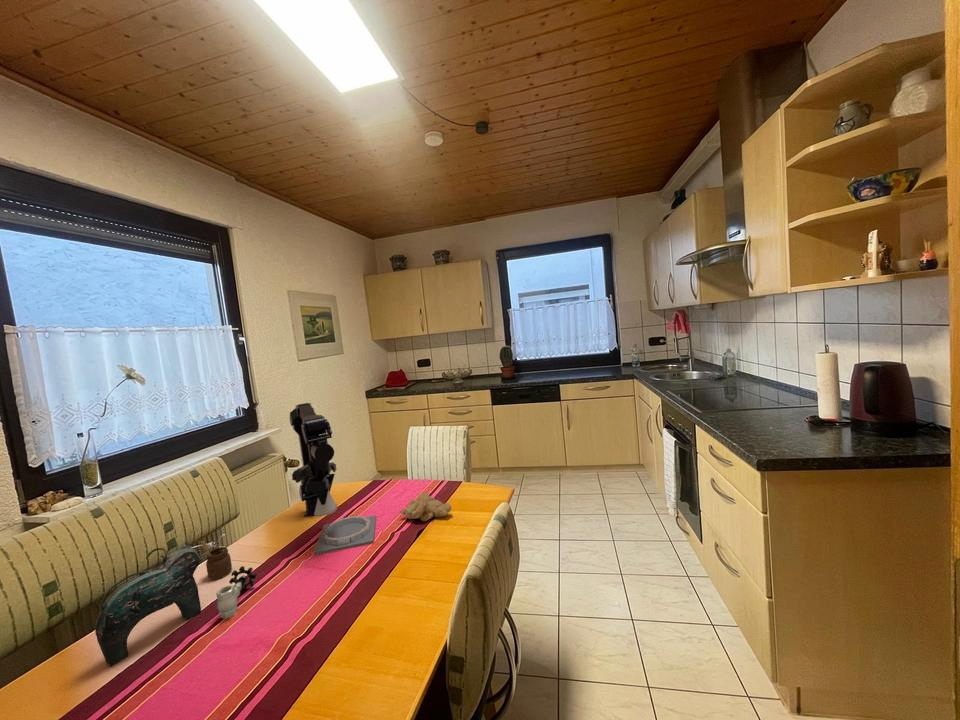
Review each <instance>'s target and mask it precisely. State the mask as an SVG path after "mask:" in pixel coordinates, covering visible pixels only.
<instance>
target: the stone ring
mask: <svg viewBox="0 0 960 720" xmlns="http://www.w3.org/2000/svg"><path fill="white" fill-rule="evenodd" d="M366 517H367V516H361V515H353V516H348V517H343V518H340V519H338V520H334V521H333V522H331V523H329V524H330V525H328V526H327V527H326V528H324V530H323V532H322V541H324V542H325V543H326V544H327V545H336V546H337V545H338V546H339V545H343V544H348V543H352V542H354V541H356V540H359V539H361V538H363V537H364V536H365V535H366V534H367V533H368V532H369V531H370V528H371V522H370V520H369V519H368V518H366ZM354 522H355V523H363V524H365V525H366V526H365V527H364V528H363V529H362V530H361V531H359V532H357V533H355V534H353V535H351V536H347V537H342V538H332V537H329V536H328V533H330V532H331V531H332V530H333V529H335V528H337V527H339V526H342V525H344V524H349V523H354Z"/></svg>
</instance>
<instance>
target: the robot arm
mask: <svg viewBox="0 0 960 720" xmlns="http://www.w3.org/2000/svg"><path fill="white" fill-rule="evenodd" d="M289 423H290V426H291V427H292V430H293V431H294V432H295V433H296V434H297V435H298V440H299V448H300V454H301V455H300V457H301V463H302V466H301V467H299V468H298V469H295V470H294V471H293V472H292V473H291V477H292V478H291V480H292V481H295V483H296V484H298V483H300V485H299V490H298V491H299V498H300V501H301V502H305V503H304V504H305V510H306V511H305V512H304V514H303V516H304V517H308V516H309V517H310V516H313V515H314V513H315V509H316V505H317V500H318V498H319V500H320V503H321V505H325V503H326V499H327V495H328V490H329V492H331V489H332V485H333V481H334V479H335V472H336V471H337V464H336V463H335V462H333V461H332V459H333V458H334V455H335V450H334V447H333V446H332V445H331V444H330V443H329V442H328V439H332V438H333V436H332V435H333V430H332V428H331V424H330V421H329V420H328V419H326V418H325V416H323V414H317V413H316V412H315V408H314V407H312V404H311V403H309V402H305V403H299V404H297V405H295V408H294V409H293V410H291V411H290V412H289ZM330 461H332V462H330ZM331 472H333V473H331ZM314 516H315V515H314Z"/></svg>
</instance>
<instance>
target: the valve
mask: <svg viewBox="0 0 960 720" xmlns="http://www.w3.org/2000/svg"><path fill="white" fill-rule="evenodd" d="M253 571H254V569H253V567H248V568H247V569H245V566H242V565H241V566H240V567H239V569H238V571H237V570H233V571H231V572H232V573H231V578H230V579H229V580H228V583H229V585H225V586H223V587H221V588H220V589H218V590H217V592H216V594H215V596H216V600H217V602H216V603H217V605H216V607H217V610H218V611H219V618H223V619H222V620H225V619H226V620H228V619H230V618H232V617H231V616H233V615H234V614H235V613H236V611H237V610H238V611H239V607H238V598H239V596H240V595H241V591H242V592H245V591H244V590H246V591H247V589H248V586H249V587H250V588H251V587H254V585H255V583H256V582H255V581H254V580H255V579H256V578H257V575H258V574H257V573H252V572H253ZM241 574H242V575H241ZM244 574H246V575H244ZM239 575H241V576H239ZM238 576H239V578H238ZM248 578H249V580H248V582H247V579H248ZM233 583H234V585H232V584H233ZM238 611H237V612H238ZM236 614H237V613H236ZM236 614H235V615H236ZM235 615H234V616H235ZM234 616H233V617H234ZM229 617H230V618H229ZM227 618H228V619H227Z"/></svg>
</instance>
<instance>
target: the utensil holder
mask: <svg viewBox="0 0 960 720" xmlns="http://www.w3.org/2000/svg"><path fill="white" fill-rule="evenodd" d="M222 537H223V539H222ZM226 537H227V535H226V534H221V535H220V536H219V537H218V539H217V542H220V540H222V541H225V539H226ZM200 542H201V544H202V546H203V549H204V550H205V551H206V552H207V553H206V564H205V565H206V573H207V578H208V580H212V581H215V580H219V579H223V578H224V577H226V576H228V575H229V574H230V573H231V572H232V569H233V566H232V560H231V554H230V553H229V550H228V547H227V546H226V545H228V542H225V543H223V546H220V545H218V546H217V548H215V549H211V550H210V549H209V547H208V545H207V544H206V541H203V540H201V541H200Z"/></svg>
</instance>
